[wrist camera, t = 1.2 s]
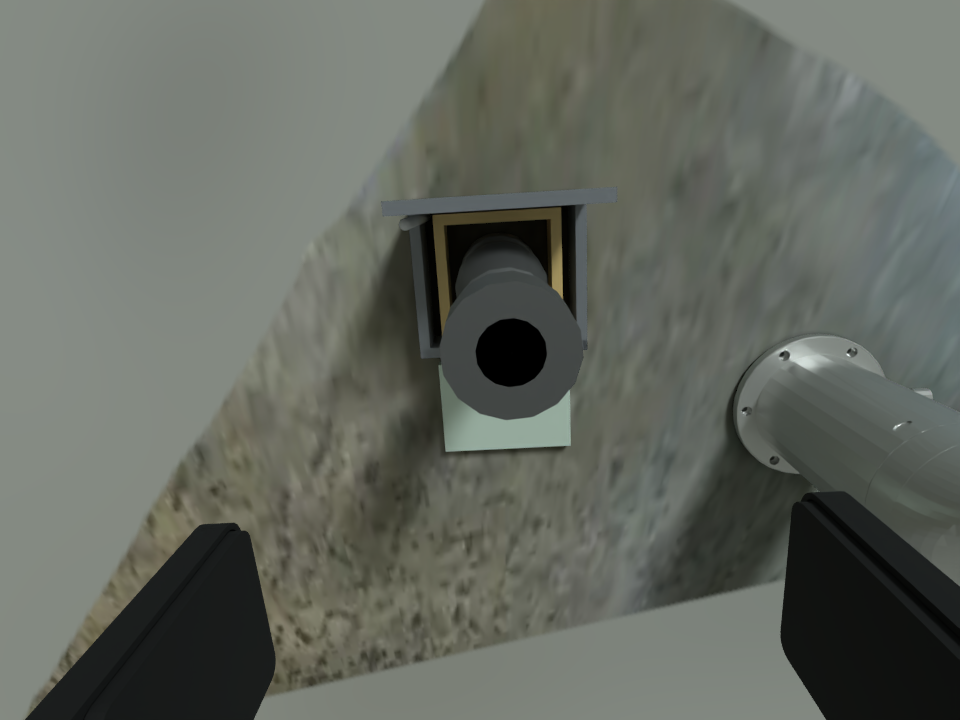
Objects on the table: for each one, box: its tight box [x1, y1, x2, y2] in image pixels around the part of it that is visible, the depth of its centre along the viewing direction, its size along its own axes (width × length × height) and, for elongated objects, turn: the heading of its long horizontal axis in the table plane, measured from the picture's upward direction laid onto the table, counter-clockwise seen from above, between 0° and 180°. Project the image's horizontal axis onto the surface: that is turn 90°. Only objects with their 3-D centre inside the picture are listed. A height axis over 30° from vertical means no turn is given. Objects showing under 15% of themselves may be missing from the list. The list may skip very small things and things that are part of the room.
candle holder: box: [439, 232, 583, 420], centre depth 34 cm, size 6×6×25 cm
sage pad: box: [438, 362, 571, 452], centre depth 49 cm, size 11×8×1 cm
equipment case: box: [381, 187, 617, 359], centre depth 39 cm, size 13×12×14 cm
